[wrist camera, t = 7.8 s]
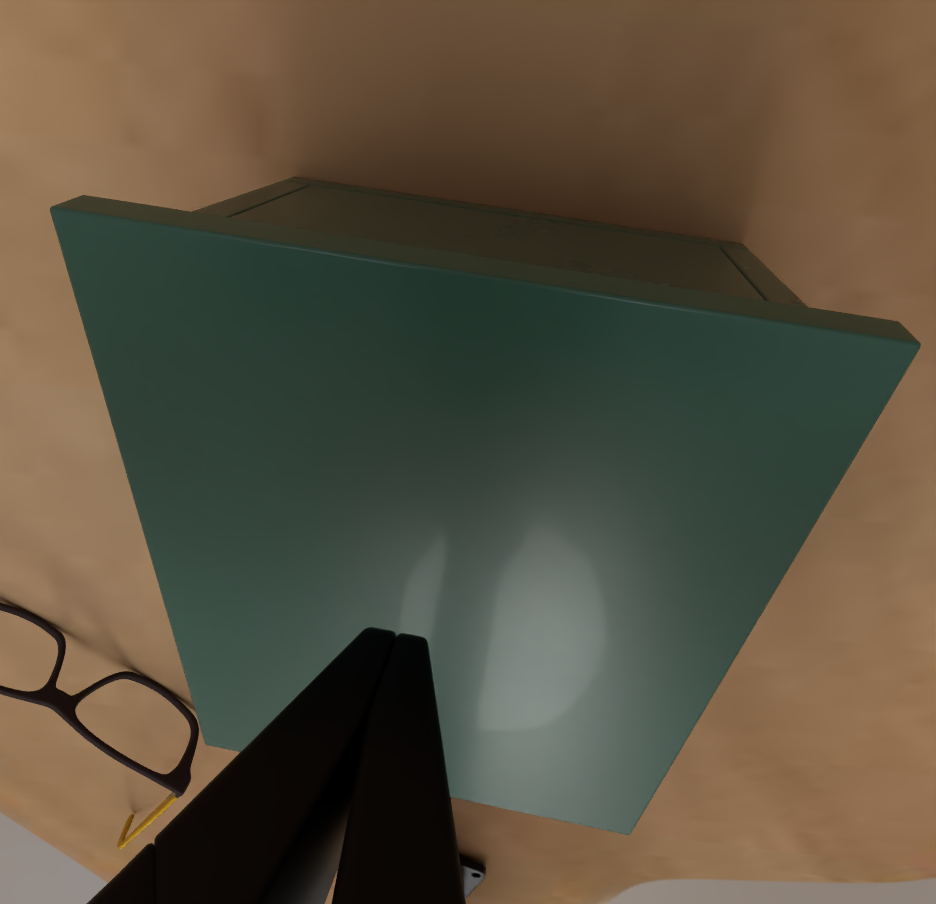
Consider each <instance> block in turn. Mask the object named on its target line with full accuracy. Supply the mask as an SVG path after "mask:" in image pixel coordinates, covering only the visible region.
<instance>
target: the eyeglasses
mask: <svg viewBox="0 0 936 904" xmlns="http://www.w3.org/2000/svg"><path fill="white" fill-rule="evenodd" d="M0 610H1V611H5V612H8V613H11V614H14V615H17V616H19V617H22V618H24V619H26V620H28V621H30V622H32V623H34V624H36V625H38V626H39V627H41V628H42V629H44V630H45V631H46V632H48V633H49V634H50V635H51V636H52V637H54V638H55V640H56V641H57V644H58V656H57V661H56V664H55V667H54V670H53V672H52V674H51V677H50V679H49V681H48V682H47V684H46V685H45V686H44V687H43V688H41V689H39V690H36V691H30V692H27V691H20V690H15V689H11V688H7V687H4V686H1V685H0V694H2V695H5V696H9V697H12V698H16V699H20V700H24V701H27V702H31V703H35V704H39V705H43V706H46V707H48V708H51V709H52V710H54V711H55V712H56V713H57V714H58V715H59V716H61V717H62V718H63V719H64V720H65V721H66V722H67V723H68V724H69V725H70V726H72V727H73V728H74V729H75V730H76V731H77V732H78V733H79V734H81V735H82V736H83V737H84V738H85V739H87V740H88V741H89V742H90V743H92V744H93V745H95V746H96V747H97V748H99V749H100V750H101V751H103V752H104V753H106V754H107V755H109V756H110V757H112V758H113V759H115V760H117V761H118V762H120V763H122V764H124V765H125V766H127V767H129V768H131V769H133V770H134V771H136V772H138V773H140V774H142V775H144V776H145V777H147V778H149V779H151V780H153V781H154V782H156V783H158V784H160V785H162V786H163V787H165V788H167V789H169V790H171V791H172V793H171V794H170V795H169V796H168V797H167V798H166V800H165V801H164V802H163V803H162V804H161V805H160V806H159V807H158V808H157V809H156V810H155V811H153V812H152V813H151V814H150V815H149V816H148V817H147V818H146V819H145V820H144V821H143V822H142V823H141V824H140V825H139V826H138V827H137V828H136V829H135V830H134V831H133V832H132V833H131V834H130V835H129V836H128V837H127V838H126V839H125V837H126V834H127V832H128V830H129V827H130V825H131V823H132V820H133V818H134V814H131V815H130V816H129V818H128V820H127V822H126V824H125V826H124V829H123V831H122V834H121V836H120V839H119V842H118V846H117V847H118V849H122V848H123V847H125V846H126V845H127V844H128V843H129V842H130V841H131V840H132V839H134V838H135V837H136V836H137V835H138V834H139V833H140V832H141V831H143V830H144V829H145V828H146V827H147V826H148V825H149V824H150V823H152V822H153V821H154V820H155V819H156V818H157V817H158V816H159V815H161V814H162V813H163V812H164V811H165V810H166V809H167V808H168V807H169V806H170V805H171V804H172V803H173V802H174V801H175V800H177V799H178V798H179V797H180V796H182V795H183V794H184V792H185V791H186V789H187V787H188V785H189V783H190V780H191V773H190V768H191V763H192V760H193V757H194V753H195V749H196V745H197V741H198V735H199V727H198V722H197V720H196V718H195V716H194V715H193V714H192V713H191V711H190V710H189V709H188V708H187V707H186V706H185V705H184V704H183V703H182V702H180V701H179V700H178V699H177V698H176V697H175V696H174V695H172V694H171V693H170V692H168V691H167V690H166V689H164V688H163V687H161V686H160V685H158V684H157V683H155V682H153V681H151V680H150V679H147V678H145V677H143V676H141V675H138V674H136V673H133V672H129V671H124V672H119V673H115V674H112V675H110V676H108V677H106V678H103V679H102V680H100V681H98V682H96V683H94V684H93V685H91V686H89V687H88V688H86V689H84V690H83V691H81V692H79V693H78V694H76V695H73V696H70V695H68V694H67V693H65V692H64V691H61V690H59V689H57V688H56V681H57V678H58V675H59V672H60V669H61V666H62V663H63V660H64V656H65V649H66V642H65V638H64V636H63V634H62V633H61V632H60V631H59V630H57V629H56V628H55V627H53V626H52V625H50V624H49V623H47V622H46V621H44V620H42V619H40V618H38V617H36V616H34V615H32V614H30V613H28V612H26V611H23V610H21V609H18V608H16V607H13V606H10V605H7V604H3V603H0ZM119 679H129V680H132V681H135V682H138V683H141V684H143V685H145V686H147V687H149V688H151V689H153V690H155V691H156V692H158V693H159V694H161V695H162V696H163V697H165V698H166V699H167V700H169V701H170V702H171V703H172V704H173V705H174V706H175V707H176V708H177V709H178V710H179V711H180V712H181V713H182V714H183V715H184V716H185V718H186V719H187V720H188V722H189V725H190V729H191V737H190V741H189V744H188V746H187V749H186V751H185V753H184V755H183V757H182V759H181V761H180V762H179V764H178V765H177V767H176V768H175V769H174V770H173V771H171V772H170V773H169V774H160V773H157V772H154V771H152V770H150V769H148V768H146V767H144V766H142V765H140V764H139V763H137V762H135V761H133V760H131V759H130V758H128V757H126V756H125V755H123V754H121V753H119V752H118V751H116V750H115V749H113V748H112V747H110V746H109V745H107V744H106V743H104V742H103V741H102V740H100V739H99V738H98V737H96V736H95V735H94V734H93V733H91V732H90V731H89V730H88V729H87V728H86V727H85V726H84V725H83V724H82V723H81V722H80V721H79V720H78V718H77V716H76V713H75V709H76V706H77V705H78V703H79V702H80V701H81V700H82V699H84V698H85V697H86V696H88V695H89V694H90V693H92V692H93V691H95V690H97V689H98V688H100V687H102V686H104V685H106V684H108V683H110V682H112V681H115V680H119Z"/></svg>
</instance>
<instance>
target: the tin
mask: <svg viewBox="0 0 936 904" xmlns="http://www.w3.org/2000/svg"><path fill="white" fill-rule="evenodd" d="M192 212H196V213H202V214H209V215H215V216H222V217H228V218H235V219H241V220H248V221H254V222H260V223H267V224H273V225H280V226H286V227H293V228H299V229H306V230H312V231H319V232H325V233H331V234H338V235H344V236H351V237H357V238H364V239H370V240H377V241H383V242H389V243H396V244H402V245H409V246H415V247H422V248H428V249H435V250H441V251H447V252H454V253H460V254H467V255H473V256H480V257H486V258H493V259H499V260H506V261H512V262H518V263H525V264H531V265H538V266H544V267H551V268H557V269H564V270H570V271H576V272H583V273H589V274H596V275H602V276H609V277H615V278H622V279H628V280H634V281H641V282H647V283H654V284H660V285H667V286H673V287H680V288H686V289H693V290H699V291H705V292H712V293H718V294H725V295H731V296H738V297H744V298H751V299H757V300H763V301H770V302H776V303H783V304H789V305H796V306H802V307H807V306H806V305H805V304H804V303H803V302H802V301H801V300H800V299H799V298H798V297H797V296H796V295H795V294H794V293H793V292H792V291H791V290H790V289H789V288H788V287H787V286H786V285H785V284H784V283H783V282H782V281H781V280H780V279H779V278H777V277H776V276H775V275H774V274H773V273H772V272H771V271H770V270H769V269H768V268H767V267H766V266H765V265H764V264H763V263H762V262H761V261H760V260H759V259H758V258H757V257H756V256H755V255H754V254H753V253H752V252H751V251H750V250H749V249H748V248H747V247H746V246H745V245H744V244H741V243H735V242H728V241H721V240H715V239H708V238H701V237H695V236H688V235H681V234H674V233H668V232H661V231H654V230H648V229H641V228H634V227H628V226H621V225H614V224H608V223H601V222H594V221H587V220H581V219H574V218H567V217H561V216H554V215H547V214H541V213H534V212H527V211H521V210H514V209H507V208H500V207H494V206H487V205H480V204H474V203H467V202H460V201H454V200H447V199H440V198H434V197H427V196H420V195H413V194H407V193H400V192H393V191H387V190H380V189H373V188H367V187H360V186H353V185H347V184H340V183H333V182H326V181H320V180H313V179H306V178H300V177H292V178H289V179H286V180H283V181H280V182H277V183H274V184H272V185H269V186H266V187H263V188H260V189H257V190H254V191H251V192H248V193H245V194H242V195H239V196H236V197H233V198H230V199H227V200H225V201H222V202H219V203H216V204H213V205H210V206H207V207H204V208H201V209H198V210H195V211H192Z"/></svg>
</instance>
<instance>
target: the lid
mask: <svg viewBox="0 0 936 904" xmlns="http://www.w3.org/2000/svg"><path fill="white" fill-rule="evenodd" d="M50 212H51V215H52V219H53V222H54V226H55V229H56V233H57V236H58V239H59V243H60V246H61V250H62V253H63V257H64V260H65V264H66V267H67V270H68V274H69V277H70V281H71V284H72V288H73V291H74V294H75V298H76V301H77V305H78V308H79V312H80V315H81V319H82V322H83V325H84V329H85V332H86V336H87V339H88V343H89V346H90V350H91V353H92V356H93V360H94V363H95V367H96V370H97V374H98V377H99V380H100V384H101V387H102V391H103V394H104V398H105V401H106V405H107V408H108V411H109V415H110V418H111V422H112V425H113V429H114V432H115V436H116V439H117V442H118V446H119V449H120V453H121V456H122V460H123V463H124V466H125V470H126V473H127V477H128V480H129V484H130V487H131V491H132V494H133V497H134V501H135V504H136V508H137V511H138V515H139V518H140V521H141V525H142V528H143V532H144V535H145V539H146V542H147V546H148V549H149V552H150V556H151V559H152V563H153V566H154V570H155V573H156V577H157V580H158V583H159V587H160V590H161V594H162V597H163V601H164V604H165V607H166V611H167V614H168V618H169V621H170V625H171V628H172V632H173V635H174V638H175V642H176V645H177V649H178V652H179V656H180V659H181V663H182V666H183V669H184V673H185V676H186V680H187V683H188V687H189V690H190V693H191V697H192V700H193V704H194V707H195V711H196V714H197V718H198V721H199V724H200V728H201V731H202V735H203V738H204V742H205V744H206V745H211V746H215V747H220V748H225V749H229V750H234V751H239V752H241V751H242V750H243V749H244V748H245V747H246V746H247V745H248V744H249V743H250V742H251V741H252V740H253V739H254V738H255V737H256V736H257V735H258V734H259V733H260V732H261V731H262V730H263V729H264V728H265V727H266V726H267V725H268V724H269V723H270V722H271V721H272V720H273V719H274V718H275V717H276V716H277V715H278V714H279V713H280V712H281V711H282V710H283V709H284V708H285V707H286V706H287V705H288V704H289V703H290V702H291V701H292V700H293V699H294V698H296V697H297V696H298V695H299V694H300V693H301V692H302V691H303V690H304V689H305V688H306V687H307V686H308V685H309V684H310V683H311V682H312V681H313V680H314V679H315V678H316V677H317V676H318V675H319V674H320V673H321V672H322V671H323V670H324V669H325V668H326V667H327V666H328V665H329V664H330V663H331V662H332V661H333V660H334V659H335V658H336V657H337V656H338V655H339V654H340V653H341V652H342V651H343V650H344V649H345V648H346V647H347V646H348V645H349V644H350V643H351V642H352V641H353V640H354V639H355V638H356V637H357V636H358V635H359V634H360V633H361V632H362V631H363V630H364V629H366V628H368V627H375V628H380V629H386V630H391V631H393V632H395V633H396V636H397V635H398V634H400V633H406V634H411V635H416V636H421V637H424V638H426V640H427V641H428V646H429V653H430V660H431V667H432V674H433V681H434V688H435V694H436V701H437V708H438V715H439V722H440V729H441V736H442V743H443V750H444V756H445V763H446V770H447V777H448V784H449V791H450V797H453V798H458V799H463V800H467V801H472V802H477V803H481V804H486V805H491V806H495V807H500V808H505V809H509V810H514V811H519V812H523V813H528V814H533V815H537V816H542V817H547V818H551V819H556V820H561V821H565V822H570V823H575V824H579V825H584V826H589V827H593V828H598V829H603V830H607V831H612V832H617V833H621V834H626V835H630V834H631V832H632V830H633V829H634V827H635V825H636V824H637V822H638V820H639V819H640V817H641V815H642V814H643V812H644V810H645V809H646V807H647V805H648V804H649V802H650V800H651V799H652V797H653V795H654V794H655V792H656V790H657V788H658V787H659V785H660V783H661V782H662V780H663V778H664V777H665V775H666V773H667V772H668V770H669V768H670V767H671V765H672V763H673V762H674V760H675V758H676V757H677V755H678V753H679V752H680V750H681V748H682V747H683V745H684V743H685V741H686V740H687V738H688V736H689V735H690V733H691V731H692V730H693V728H694V726H695V725H696V723H697V721H698V720H699V718H700V716H701V715H702V713H703V711H704V710H705V708H706V706H707V705H708V703H709V701H710V699H711V698H712V696H713V694H714V693H715V691H716V689H717V688H718V686H719V684H720V683H721V681H722V679H723V678H724V676H725V674H726V673H727V671H728V669H729V668H730V666H731V664H732V663H733V661H734V659H735V657H736V656H737V654H738V652H739V651H740V649H741V647H742V646H743V644H744V642H745V641H746V639H747V637H748V636H749V634H750V632H751V631H752V629H753V627H754V626H755V624H756V622H757V621H758V619H759V617H760V616H761V614H762V612H763V610H764V609H765V607H766V605H767V604H768V602H769V600H770V599H771V597H772V595H773V594H774V592H775V590H776V589H777V587H778V585H779V584H780V582H781V580H782V579H783V577H784V575H785V574H786V572H787V570H788V568H789V567H790V565H791V563H792V562H793V560H794V558H795V557H796V555H797V553H798V552H799V550H800V548H801V547H802V545H803V543H804V542H805V540H806V538H807V537H808V535H809V533H810V532H811V530H812V528H813V526H814V525H815V523H816V521H817V520H818V518H819V516H820V515H821V513H822V511H823V510H824V508H825V506H826V505H827V503H828V501H829V500H830V498H831V496H832V495H833V493H834V491H835V490H836V488H837V486H838V485H839V483H840V481H841V479H842V478H843V476H844V474H845V473H846V471H847V469H848V468H849V466H850V464H851V463H852V461H853V459H854V458H855V456H856V454H857V453H858V451H859V449H860V448H861V446H862V444H863V443H864V441H865V439H866V437H867V436H868V434H869V432H870V431H871V429H872V427H873V426H874V424H875V422H876V421H877V419H878V417H879V416H880V414H881V412H882V411H883V409H884V407H885V406H886V404H887V402H888V401H889V399H890V397H891V395H892V394H893V392H894V390H895V389H896V387H897V385H898V384H899V382H900V380H901V379H902V377H903V375H904V374H905V372H906V370H907V369H908V367H909V365H910V364H911V362H912V360H913V359H914V357H915V355H916V354H917V352H918V350H919V348H920V345H921V344H920V342H919V341H918V340H917V339H916V338H915V337H914V336H913V335H912V334H911V333H910V332H909V331H908V330H907V329H906V328H905V327H904V326H903V325H902V324H901V323H899V322H898V321H892V320H886V319H880V318H873V317H867V316H860V315H854V314H847V313H841V312H834V311H828V310H821V309H815V308H809V307H802V306H796V305H789V304H783V303H776V302H770V301H763V300H757V299H751V298H744V297H738V296H731V295H725V294H718V293H712V292H705V291H699V290H693V289H686V288H680V287H673V286H667V285H660V284H654V283H647V282H641V281H634V280H628V279H622V278H615V277H609V276H602V275H596V274H589V273H583V272H576V271H570V270H564V269H557V268H551V267H544V266H538V265H531V264H525V263H518V262H512V261H506V260H499V259H493V258H486V257H480V256H473V255H467V254H460V253H454V252H447V251H441V250H435V249H428V248H422V247H415V246H409V245H402V244H396V243H389V242H383V241H377V240H370V239H364V238H357V237H351V236H344V235H338V234H331V233H325V232H319V231H312V230H306V229H299V228H293V227H286V226H280V225H273V224H267V223H260V222H254V221H248V220H241V219H235V218H228V217H222V216H215V215H209V214H202V213H196V212H190V211H183V210H177V209H170V208H164V207H157V206H151V205H144V204H138V203H132V202H125V201H119V200H112V199H106V198H99V197H93V196H86V195H82V196H79V197H77V198H74V199H71V200H68V201H66V202H63V203H60V204H57V205H55V206H52V207H51V208H50Z"/></svg>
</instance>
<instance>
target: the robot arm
mask: <svg viewBox="0 0 936 904" xmlns="http://www.w3.org/2000/svg"><path fill="white" fill-rule="evenodd" d="M338 866H339V868H338ZM337 868H338V873H337V878H336V884H335V889H334V894H333V900H332V904H466V901H465V899H466V898H467V897H468V896H469V894H470V893H471V892H472V891H473V890H474V889H475V888H476V887H477V886H478V885H479V884H480V883H481V882H482V881H483V879H484V878H485V874H486V867H485V866H484V865H482V864H479V863H476V862H474V861H471V860H468V859H466V858H463V857H460V856H459V853H458V846H457V839H456V832H455V825H454V818H453V812H452V805H451V798H450V791H449V784H448V777H447V770H446V763H445V756H444V750H443V743H442V736H441V729H440V722H439V715H438V708H437V701H436V694H435V688H434V681H433V674H432V667H431V660H430V653H429V646H428V641H427V640H426V638H424V637H421V636H416V635H411V634H406V633H400V634H398V635H397V636H396V633H395V632H393V631H391V630H386V629H380V628H375V627H368V628H366V629H364V630H363V631H362V632H361V633H360V634H359V635H358V636H357V637H356V638H355V639H354V640H353V641H352V642H351V643H350V644H349V645H348V646H347V647H346V648H345V649H344V650H343V651H342V652H341V653H340V654H339V655H338V656H337V657H336V658H335V659H334V660H333V661H332V662H331V663H330V664H329V665H328V666H327V667H326V668H325V669H324V670H323V671H322V672H321V673H320V674H319V675H318V676H317V677H316V678H315V679H314V680H313V681H312V682H311V683H310V684H309V685H308V686H307V687H306V688H305V689H304V690H303V691H302V692H301V693H300V694H299V695H298V696H297V697H296V698H294V699H293V700H292V701H291V702H290V703H289V704H288V705H287V706H286V707H285V708H284V709H283V710H282V711H281V712H280V713H279V714H278V715H277V716H276V717H275V718H274V719H273V720H272V721H271V722H270V723H269V724H268V725H267V726H266V727H265V728H264V729H263V730H262V731H261V732H260V733H259V734H258V735H257V736H256V737H255V738H254V739H253V740H252V741H251V742H250V743H249V744H248V745H247V746H246V747H245V748H244V749H243V750H242V751H241V752H240V753H239V754H238V755H237V756H236V757H235V758H234V759H233V760H232V761H231V762H230V763H229V764H228V765H227V766H226V767H225V768H224V769H223V770H222V771H221V772H220V773H219V774H218V775H217V776H216V777H215V778H214V779H213V780H212V781H211V782H210V783H209V784H208V785H207V786H206V787H205V788H204V789H203V790H202V791H201V792H200V793H199V794H198V795H197V796H196V797H195V798H194V799H193V800H192V801H191V802H190V803H189V804H188V805H187V806H186V807H185V808H184V809H183V810H182V811H181V812H180V813H179V814H178V815H177V816H176V817H175V818H174V819H173V820H172V821H171V822H170V823H169V824H168V825H167V826H166V827H165V828H164V829H163V830H162V831H161V832H160V833H159V834H158V835H157V836H156V837H155V842H154V844H152V843H150V844H148V845H146V846H145V847H144V848H143V849H142V850H141V851H140V852H139V853H138V854H137V855H136V856H135V857H134V858H133V859H132V860H131V861H130V862H129V863H128V864H127V865H126V866H125V867H124V868H123V869H122V870H121V871H120V872H119V873H118V874H117V875H116V876H115V877H114V878H113V879H112V880H111V881H110V882H109V883H108V884H107V885H106V886H105V887H104V888H103V889H102V890H101V891H100V892H99V893H98V894H97V895H95V896H94V897H93V898H92V899H91V900H90V901H89V902H88V903H87V904H324V903H325V901H326V898H327V895H328V893H329V890H330V887H331V885H332V882H333V879H334V877H335V874H336V871H337Z"/></svg>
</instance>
